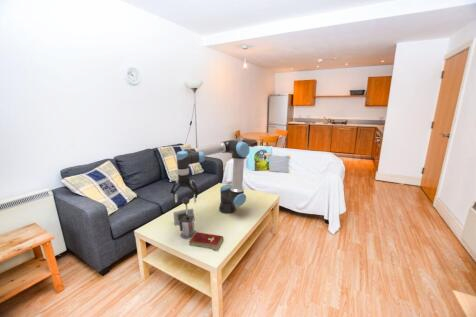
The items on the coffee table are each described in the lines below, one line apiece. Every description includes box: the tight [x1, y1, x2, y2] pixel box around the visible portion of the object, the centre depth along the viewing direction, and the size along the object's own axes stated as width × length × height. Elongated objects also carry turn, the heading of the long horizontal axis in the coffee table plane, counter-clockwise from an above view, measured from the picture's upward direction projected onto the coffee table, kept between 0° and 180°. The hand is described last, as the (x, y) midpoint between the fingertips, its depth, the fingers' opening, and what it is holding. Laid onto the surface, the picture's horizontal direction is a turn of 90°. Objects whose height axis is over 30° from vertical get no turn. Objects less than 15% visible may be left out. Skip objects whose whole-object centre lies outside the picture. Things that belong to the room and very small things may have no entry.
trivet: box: [180, 229, 197, 240], centre depth 162 cm, size 12×12×1 cm
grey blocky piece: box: [179, 215, 195, 237], centre depth 161 cm, size 10×8×13 cm
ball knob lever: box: [182, 196, 190, 219], centre depth 157 cm, size 5×5×19 cm
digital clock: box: [173, 208, 196, 226], centre depth 178 cm, size 16×9×11 cm, turn 102°
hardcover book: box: [188, 231, 224, 251], centre depth 153 cm, size 12×21×4 cm, turn 75°
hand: (185, 202), depth 155 cm, fingers open, 13 cm apart
